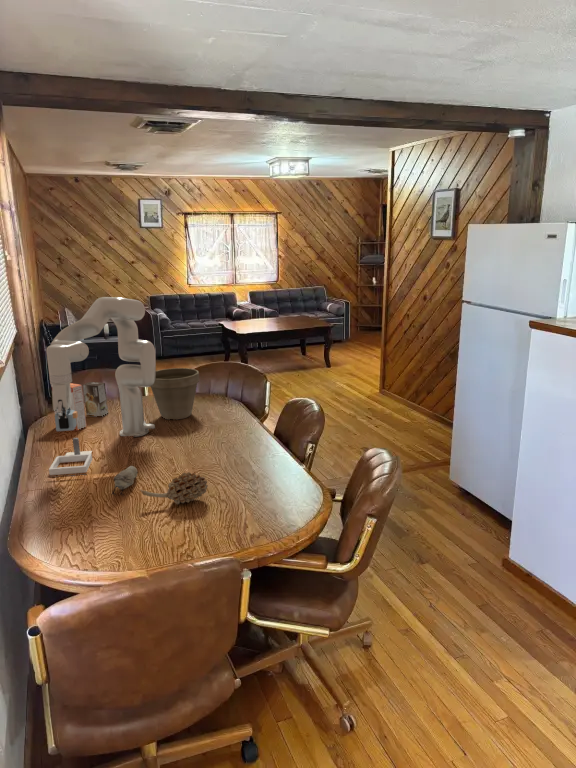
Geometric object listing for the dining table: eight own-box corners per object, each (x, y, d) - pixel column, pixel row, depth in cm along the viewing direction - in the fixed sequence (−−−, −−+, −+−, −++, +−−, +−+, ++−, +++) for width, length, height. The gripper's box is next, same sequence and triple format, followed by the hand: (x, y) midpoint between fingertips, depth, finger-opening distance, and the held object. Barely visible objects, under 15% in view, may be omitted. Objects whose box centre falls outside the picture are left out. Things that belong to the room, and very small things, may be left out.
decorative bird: (142, 478, 205) (140, 460, 204) (124, 498, 190) (122, 478, 188) (127, 478, 206) (126, 459, 204) (109, 498, 191) (107, 477, 189)
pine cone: (206, 492, 193) (204, 465, 191) (210, 504, 184) (209, 476, 182) (139, 502, 187) (137, 474, 184) (141, 515, 178) (139, 486, 175)
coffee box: (109, 413, 284) (106, 382, 280) (101, 417, 278) (98, 385, 274) (93, 412, 287) (90, 381, 283) (85, 415, 281) (82, 384, 277)
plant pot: (145, 412, 285) (142, 370, 279) (193, 405, 295) (190, 365, 289) (156, 426, 263) (153, 381, 257) (207, 418, 273) (205, 375, 267)
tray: (92, 462, 221) (91, 453, 221) (86, 475, 209) (85, 466, 208) (57, 464, 219) (56, 456, 219) (49, 478, 207) (48, 469, 206)
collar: (60, 426, 212) (58, 410, 211) (79, 424, 213) (78, 409, 212) (56, 431, 207) (54, 415, 205) (76, 429, 208) (75, 414, 206)
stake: (92, 453, 230) (90, 434, 228) (88, 461, 222) (86, 441, 220) (67, 455, 229) (64, 435, 227) (62, 463, 220) (59, 443, 218)
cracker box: (55, 427, 264) (50, 384, 259) (66, 423, 269) (60, 381, 264) (77, 431, 258) (71, 387, 253) (87, 427, 263) (82, 384, 258)
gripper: (55, 373, 213) (60, 419, 217) (44, 384, 196) (50, 433, 201) (76, 372, 214) (81, 418, 218) (66, 383, 198) (72, 432, 202)
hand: (66, 425), depth 210 cm, fingers closed on collar, 6 cm apart
